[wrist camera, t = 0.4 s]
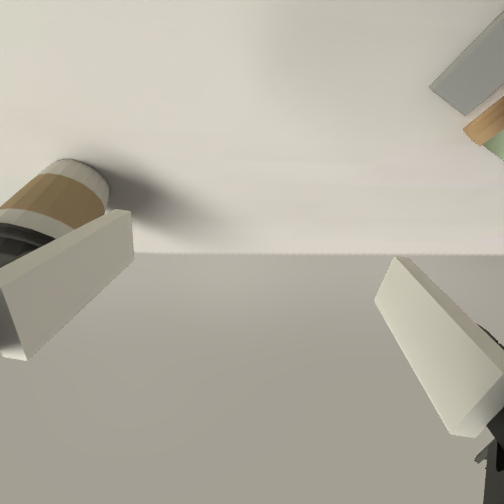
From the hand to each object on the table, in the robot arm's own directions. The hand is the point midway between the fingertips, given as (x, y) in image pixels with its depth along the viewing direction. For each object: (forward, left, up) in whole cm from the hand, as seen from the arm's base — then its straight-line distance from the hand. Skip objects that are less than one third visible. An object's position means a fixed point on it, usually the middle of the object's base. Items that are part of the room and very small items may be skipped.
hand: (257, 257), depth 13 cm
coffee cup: (+12, -25, -20) cm, 34 cm away
